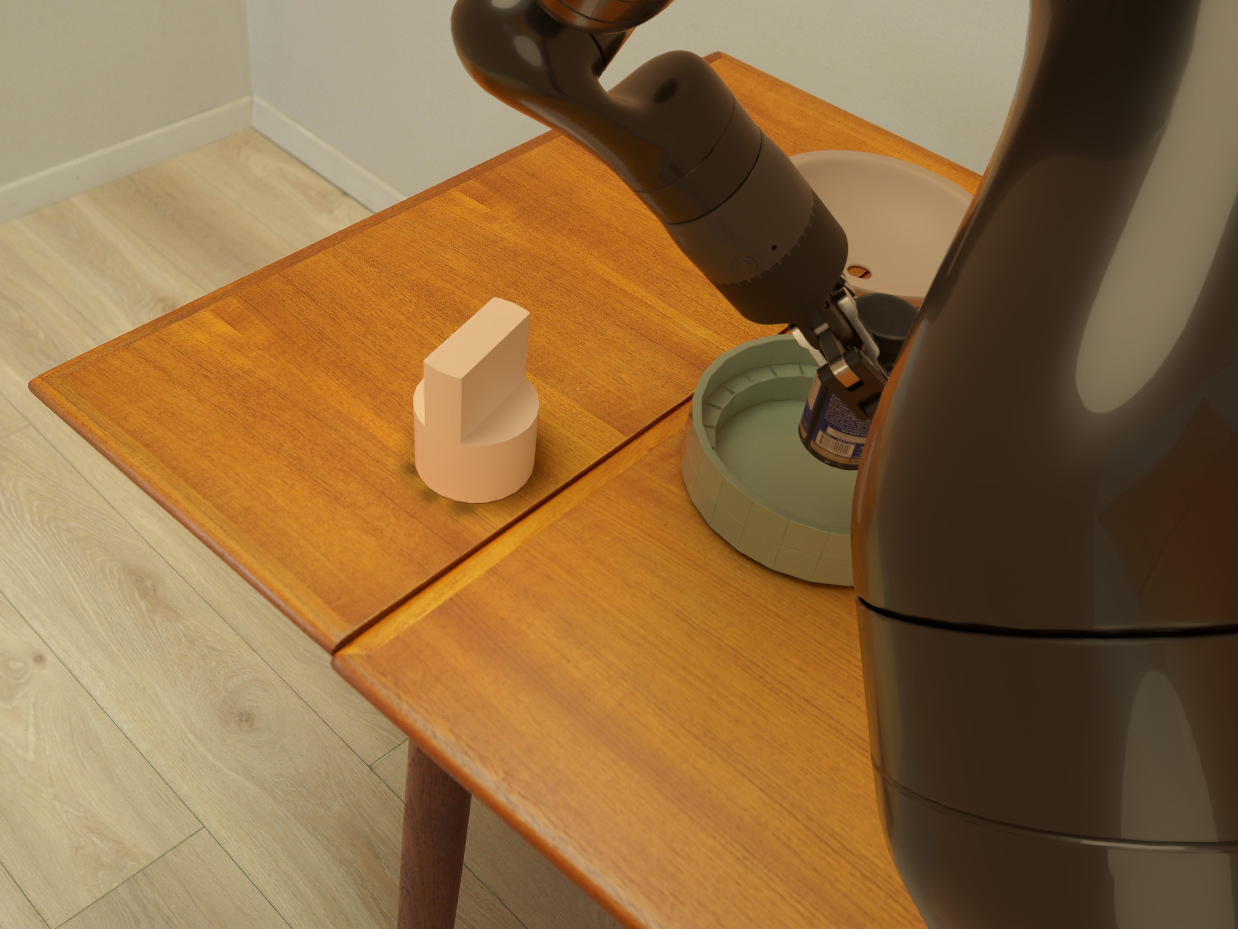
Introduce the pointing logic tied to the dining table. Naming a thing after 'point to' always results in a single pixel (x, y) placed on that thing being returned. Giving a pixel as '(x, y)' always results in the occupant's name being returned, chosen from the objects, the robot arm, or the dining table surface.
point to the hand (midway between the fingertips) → (886, 383)
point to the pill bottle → (825, 416)
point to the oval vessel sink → (887, 217)
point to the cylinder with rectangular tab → (478, 408)
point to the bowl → (767, 463)
